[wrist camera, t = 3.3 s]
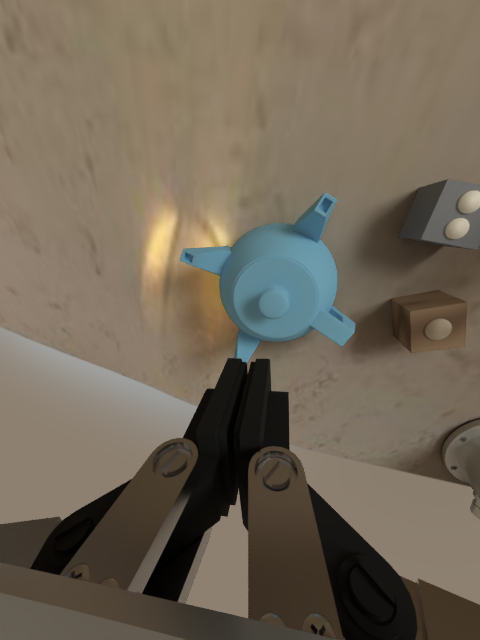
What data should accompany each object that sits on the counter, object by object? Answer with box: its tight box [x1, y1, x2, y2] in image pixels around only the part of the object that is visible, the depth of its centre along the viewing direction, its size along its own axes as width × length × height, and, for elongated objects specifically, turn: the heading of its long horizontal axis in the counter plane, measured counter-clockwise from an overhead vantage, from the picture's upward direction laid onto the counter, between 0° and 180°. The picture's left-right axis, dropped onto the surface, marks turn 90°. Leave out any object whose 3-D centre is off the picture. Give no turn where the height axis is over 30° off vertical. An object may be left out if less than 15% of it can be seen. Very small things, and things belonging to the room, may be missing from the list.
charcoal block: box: [399, 179, 480, 250], centre depth 24 cm, size 5×5×5 cm
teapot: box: [180, 193, 356, 363], centre depth 26 cm, size 15×15×11 cm
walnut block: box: [391, 290, 467, 353], centre depth 27 cm, size 5×5×5 cm
